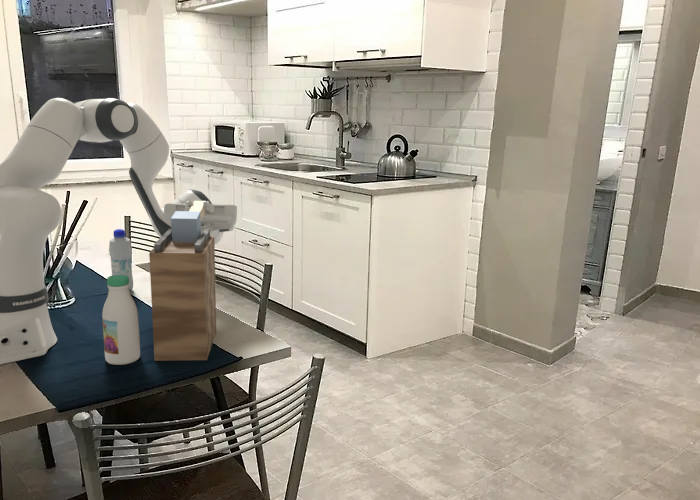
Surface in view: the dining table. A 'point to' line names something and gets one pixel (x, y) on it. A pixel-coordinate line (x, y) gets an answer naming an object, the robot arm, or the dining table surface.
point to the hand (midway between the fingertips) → (197, 203)
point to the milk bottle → (120, 323)
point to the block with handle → (188, 223)
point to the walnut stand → (183, 297)
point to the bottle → (121, 256)
